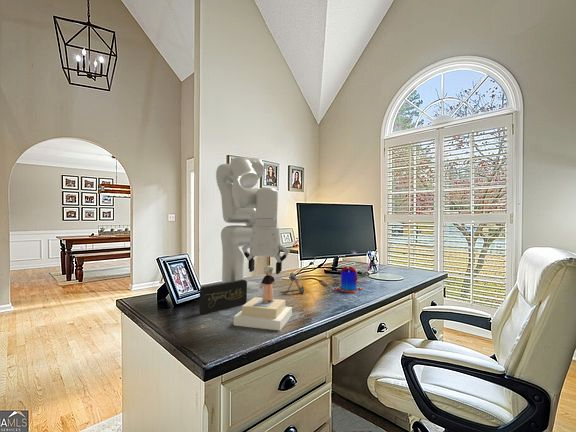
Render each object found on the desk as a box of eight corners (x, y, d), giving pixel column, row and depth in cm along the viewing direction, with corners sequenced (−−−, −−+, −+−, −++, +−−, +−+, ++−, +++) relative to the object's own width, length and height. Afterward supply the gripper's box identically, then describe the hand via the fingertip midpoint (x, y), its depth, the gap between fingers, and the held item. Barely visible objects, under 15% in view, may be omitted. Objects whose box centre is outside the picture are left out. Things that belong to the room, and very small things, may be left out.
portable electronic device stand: (303, 294, 148) (304, 276, 148) (287, 293, 148) (287, 276, 148) (303, 289, 156) (303, 272, 156) (287, 289, 157) (287, 272, 157)
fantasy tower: (332, 290, 157) (332, 266, 157) (344, 286, 166) (344, 263, 166) (353, 294, 150) (353, 269, 150) (364, 290, 158) (365, 266, 158)
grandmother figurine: (267, 304, 107) (268, 267, 107) (257, 303, 108) (258, 266, 108) (278, 299, 114) (278, 264, 114) (268, 298, 115) (269, 263, 115)
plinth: (233, 325, 104) (233, 306, 104) (250, 311, 119) (251, 294, 119) (280, 330, 100) (280, 311, 100) (291, 315, 116) (292, 298, 116)
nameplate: (202, 315, 114) (202, 287, 114) (199, 314, 115) (199, 286, 115) (246, 304, 129) (247, 279, 129) (243, 303, 131) (244, 279, 130)
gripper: (238, 222, 108) (237, 272, 109) (287, 225, 104) (285, 276, 104) (246, 222, 116) (245, 268, 116) (292, 224, 111) (291, 272, 112)
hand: (264, 272), depth 110 cm, fingers open, 9 cm apart
